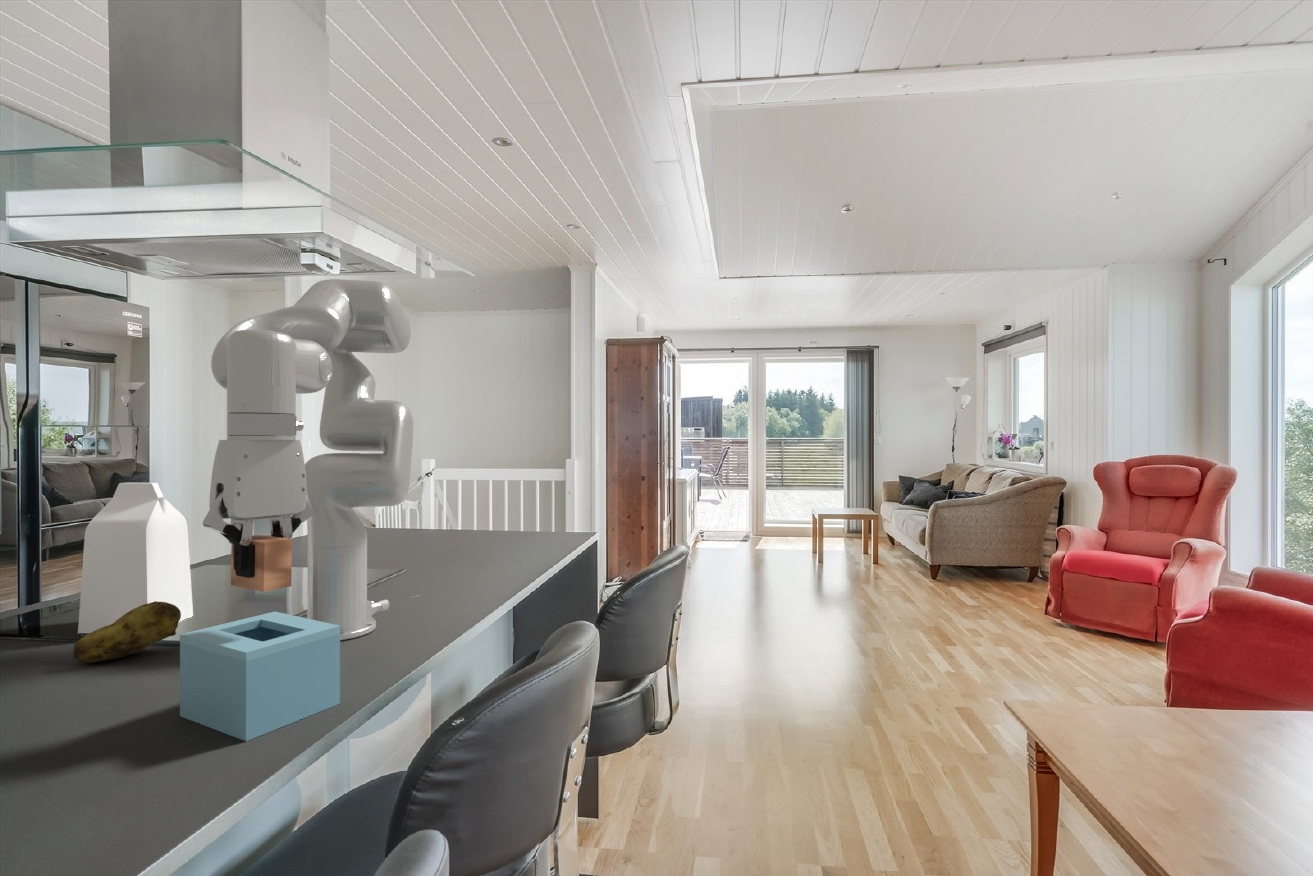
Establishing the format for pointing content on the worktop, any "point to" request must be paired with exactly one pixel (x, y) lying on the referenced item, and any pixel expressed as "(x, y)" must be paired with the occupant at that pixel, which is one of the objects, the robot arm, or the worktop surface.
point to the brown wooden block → (267, 564)
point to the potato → (129, 633)
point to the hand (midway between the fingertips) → (261, 572)
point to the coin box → (259, 673)
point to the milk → (134, 557)
